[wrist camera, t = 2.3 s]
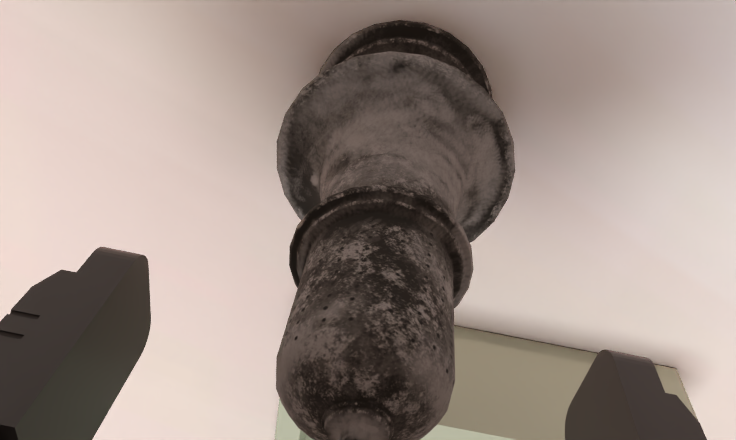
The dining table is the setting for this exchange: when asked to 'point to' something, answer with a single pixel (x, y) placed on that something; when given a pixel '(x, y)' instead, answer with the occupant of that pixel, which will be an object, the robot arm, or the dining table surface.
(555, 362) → the caddy
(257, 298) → the dining table surface
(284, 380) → the salt shaker
